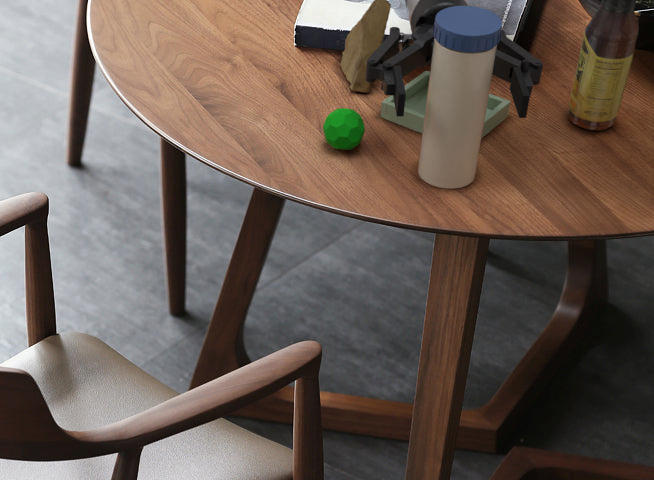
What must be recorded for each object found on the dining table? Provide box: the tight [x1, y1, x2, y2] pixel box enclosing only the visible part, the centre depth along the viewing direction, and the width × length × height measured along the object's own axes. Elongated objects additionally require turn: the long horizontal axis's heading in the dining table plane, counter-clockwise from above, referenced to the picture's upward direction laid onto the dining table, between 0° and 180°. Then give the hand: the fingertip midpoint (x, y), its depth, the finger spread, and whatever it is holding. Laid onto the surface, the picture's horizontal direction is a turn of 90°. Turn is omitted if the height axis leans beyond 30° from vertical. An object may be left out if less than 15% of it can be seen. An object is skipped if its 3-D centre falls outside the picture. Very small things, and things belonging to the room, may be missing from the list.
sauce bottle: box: [568, 0, 640, 132], centre depth 130 cm, size 6×6×20 cm
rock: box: [339, 0, 392, 94], centre depth 142 cm, size 11×9×10 cm
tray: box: [379, 70, 512, 139], centre depth 136 cm, size 13×11×2 cm
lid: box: [433, 5, 503, 52], centre depth 115 cm, size 7×7×2 cm
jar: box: [417, 39, 497, 190], centre depth 121 cm, size 7×7×19 cm
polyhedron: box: [322, 107, 366, 151], centre depth 130 cm, size 5×5×5 cm
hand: (463, 106), depth 118 cm, fingers open, 13 cm apart
